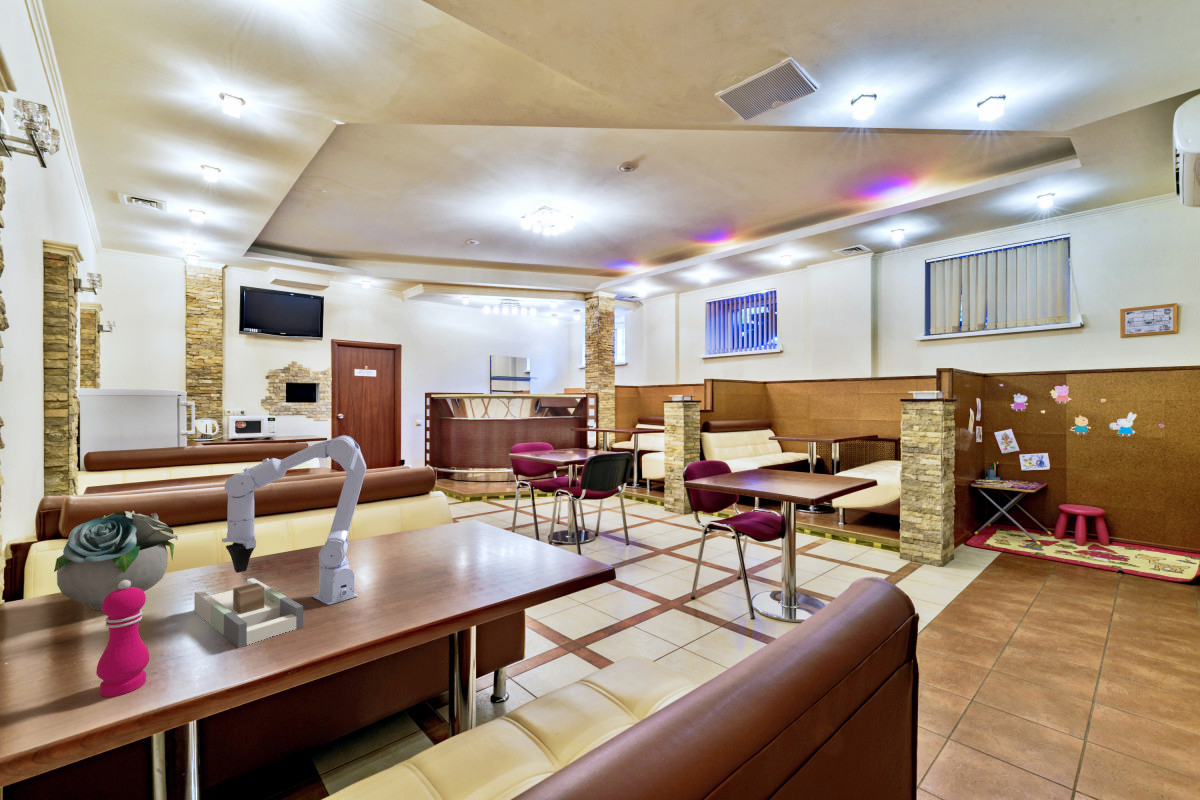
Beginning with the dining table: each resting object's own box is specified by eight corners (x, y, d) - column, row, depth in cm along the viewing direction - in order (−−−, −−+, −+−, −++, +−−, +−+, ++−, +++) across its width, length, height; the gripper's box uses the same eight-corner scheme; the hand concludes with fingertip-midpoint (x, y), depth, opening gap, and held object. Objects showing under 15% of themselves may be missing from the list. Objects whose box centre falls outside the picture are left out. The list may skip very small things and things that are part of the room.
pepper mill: (145, 673, 99) (146, 571, 99) (153, 686, 94) (154, 579, 95) (93, 689, 93) (94, 580, 94) (98, 703, 89) (100, 590, 89)
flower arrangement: (199, 592, 142) (200, 505, 142) (88, 630, 118) (89, 525, 118) (136, 583, 148) (137, 500, 149) (19, 618, 124) (20, 519, 125)
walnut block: (264, 607, 123) (264, 587, 124) (240, 614, 120) (240, 593, 120) (256, 602, 127) (256, 582, 127) (233, 609, 123) (233, 588, 123)
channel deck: (303, 627, 119) (303, 606, 119) (238, 648, 109) (238, 624, 109) (253, 595, 139) (253, 577, 139) (194, 611, 129) (194, 591, 129)
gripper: (213, 518, 133) (212, 569, 132) (232, 526, 124) (232, 581, 124) (244, 513, 138) (244, 563, 138) (265, 520, 129) (265, 573, 129)
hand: (240, 571), depth 131 cm, fingers closed
